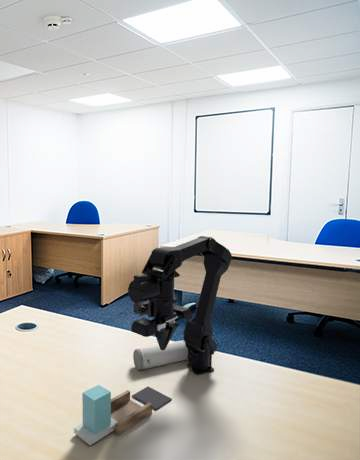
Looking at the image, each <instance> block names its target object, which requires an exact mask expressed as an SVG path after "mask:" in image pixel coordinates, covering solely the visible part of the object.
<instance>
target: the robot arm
mask: <svg viewBox="0 0 360 460" xmlns="http://www.w3.org/2000/svg"><path fill="white" fill-rule="evenodd" d="M198 255H201V256H202V257H203V265H204V266H203V267H204V270H205V274H204V279H203V282H202V287H201V290H200V294H199V299H198V302H197V307H196V311H195V314H194V316H193V318H192V315H193V312H192V310H191V309H190V308H188V307H185V306H181V305H178V304H177V305H174V304H176V303H178V298H175V279H176V278H178V277H180V276H181V274H180V273H179V272H178V271H176V270H177V269H179V268H180V267H181V266H182V265H183V262H185V261H187V260H189V259H191V258H193V257H195V256H198ZM232 258H233V256H232V252H230V249H229V248H227V247H225V246H224V245H223V244H220V243H219V242H218V241H216V239H215V238H214V237H212V236H204V235H201V236H198V237H197V238H194V239H192V240H190V241H186V242H184V243H181V244H178V245H175V246H164V247H163V246H162V247H156V248H153V249H152V250H151V254H150V255H149V257H148V259H147V261H146V263H145V265H144V267H143V269H142V271H141V274H136V275H133V280H132V281H131V282H129V285H128V287H127V294H128V297H129V298H130V300H131V301H132V302H133V307H132V308H133V313H134V314H135V315H138V316H139V317H142V316H144V315H147V317H148V318H152V319H148V318H146V317H142V318H138V319H136V320H133V322H132V323H131V325H130V326H131V332H132V333H134V334H137V335H139V336H142V337H144V338H149V337H151V336H153V335H154V336H155V339H156V341H157V345H159V347H160V349H161V350H162V351H163V350H165V349H166V347H167V345H168V343H170V341H171V339H172V337H173V335H174V333H175V332H176V330H177V328H179V326H180V324H179V323H176V319H178V318H180V317H182V319H183V320H184V321H185V322H186V323H185V327H184V331H183V332H182V334H183V340H184V341H185V344H186V348H190V354H189V359H188V363H187V367H188V368H189V369H190V370H191V371H192V372H193V373H194V374H195V375H201V374H205V373H209V372H213V371H215V368H214V367H213V365H212V363H213V362H212V360H213V355H215V352H217V348H218V344H217V342H216V341H215V340H214V339H213V327H212V323H211V320H212V319H211V318H212V315H213V310H214V306H215V301H216V298H217V295H218V289H219V286H220V282H221V278H222V276H223V275H224V274H225V273H226V272H227V271H228V269H229V267H230V264H231V262H232V260H233V259H232Z"/></svg>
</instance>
